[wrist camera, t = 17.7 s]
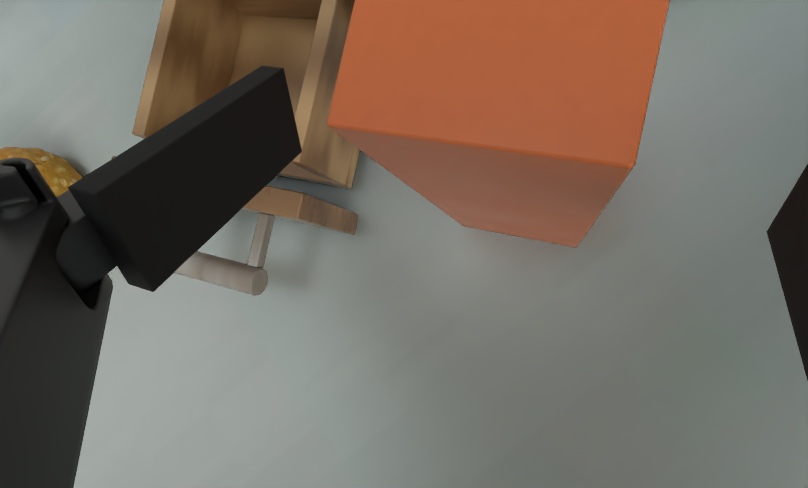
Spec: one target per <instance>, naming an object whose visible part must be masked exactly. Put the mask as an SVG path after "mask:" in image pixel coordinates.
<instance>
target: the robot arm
mask: <svg viewBox="0 0 808 488" xmlns="http://www.w3.org/2000/svg"><path fill="white" fill-rule="evenodd" d="M301 152H302V149H301V145H300V140H299V135H298V131H297V126H296V122H295V117H294V113H293V108H292V104H291V99H290V94H289V90H288V85H287V81H286V76H285V72H284V68H279V67H270V66H260V67H259V68H257V69H256V70H254V71H252V72H251V73H249V74H248V75H246V76H244V77H243V78H241V79H240V80H238V81H236V82H235V83H233V84H232V85H230V86H228V87H227V88H225V89H224V90H222V91H220V92H219V93H217V94H216V95H214V96H213V97H211V98H209V99H208V100H206V101H205V102H203V103H201V104H200V105H198V106H197V107H195V108H193V109H192V110H190V111H189V112H187V113H185V114H184V115H182V116H181V117H179V118H177V119H176V120H174V121H173V122H171V123H169V124H168V125H166V126H165V127H163V128H161V129H160V130H158V131H157V132H155V133H153V134H152V135H150V136H149V137H147V138H145V139H144V140H142V141H141V142H139V143H138V144H136V145H134V146H133V147H131V148H130V149H128V150H126V151H125V152H123V153H122V154H120V155H118V156H117V157H115V158H114V159H112V160H110V161H109V162H107V163H106V164H104V165H102V166H101V167H99V168H98V169H96V170H94V171H93V172H91V173H90V174H88V175H86V176H85V177H83V178H82V179H80V180H78V181H77V182H75V183H74V184H72V185H70V186H69V187H68V189H69V190H67V191H66V192H64V193H63V194H61V195H60V196H58V197H56V196H55V194H54V193H53V191H52V190H51V188H50V187H49V185H48V184H47V182H46V181H45V179H44V178H43V176H42V175H41V173H40V171H39V170H38V168H37V167H36V165H35V164H34V162H32V161H31V160H30V159H28V158H20V157H17V158H8V159H3V160H0V488H73V486H74V481H75V476H76V471H77V466H78V461H79V456H80V451H81V446H82V441H83V436H84V430H85V425H86V420H87V415H88V410H89V405H90V400H91V395H92V390H93V385H94V380H95V375H96V370H97V365H98V360H99V355H100V350H101V345H102V339H103V334H104V329H105V324H106V319H107V314H108V309H109V304H110V299H111V294H112V289H113V285H112V280H111V279H110V277H109V276H108V274H107V273H109V272H110V271H111V270H112V269H113V268H115V267H116V266H118V268H119V269H120V271H121V273H122V274H123V276H124V277H125V279H126V281H127V282H128V284H130V285H133V286H136V287H140V288H143V289H146V290H149V291H152V292H154V291H155V290H156V289H157V288H158V287H159V286H160V285H161V284H162V283H163V282H164V281H165V280H166V279H167V278H169V277H170V276H171V275H172V274H173V273H174V272H175V271H176V270H177V269H178V268H179V267H180V266H181V265H182V264H183V263H184V262H186V261H187V260H188V259H189V258H190V257H191V256H192V255H193V254H194V253H195V252H196V251H197V250H198V249H199V248H200V247H201V246H202V245H204V244H205V243H206V242H207V241H208V240H209V239H210V238H211V237H212V236H213V235H214V234H215V233H216V232H217V231H218V230H219V229H221V228H222V227H223V226H224V225H225V224H226V223H227V222H228V221H229V220H230V219H231V218H232V217H233V216H234V215H235V214H236V213H237V212H239V211H240V210H241V209H242V208H243V207H244V206H245V205H246V204H247V203H248V202H249V201H250V200H251V199H252V198H253V197H254V196H256V195H257V194H258V193H259V192H260V191H261V190H262V189H263V188H264V187H265V186H266V185H267V184H268V183H269V182H270V181H271V180H272V179H274V178H275V177H276V176H277V175H278V174H279V173H280V172H281V171H282V170H283V169H284V168H285V167H286V166H287V165H288V164H289V163H291V162H292V161H293V160H294V159H295V158H296V157H297V156H298V155H299V154H300V153H301ZM767 234H768V238H769V241H770V245H771V249H772V252H773V256H774V260H775V263H776V267H777V271H778V274H779V278H780V282H781V285H782V289H783V292H784V296H785V300H786V303H787V307H788V311H789V314H790V318H791V322H792V325H793V329H794V333H795V336H796V340H797V344H798V347H799V351H800V354H801V358H802V362H803V365H804V369H805V373H806V376H807V380H808V164H807V166H806V168H805V169H804V171H803V173H802V174H801V176H800V178H799V179H798V181H797V183H796V184H795V186H794V188H793V189H792V191H791V193H790V194H789V196H788V198H787V199H786V201H785V202H784V204H783V206H782V207H781V209H780V211H779V212H778V214H777V216H776V217H775V219H774V221H773V222H772V224H771V226H770V227H769V229H768V231H767Z"/></svg>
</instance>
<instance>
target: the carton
mask: <svg viewBox="0 0 808 488" xmlns="http://www.w3.org/2000/svg"><path fill="white" fill-rule="evenodd" d="M669 2H670V0H355V1H354V5H353V10H352V14H351V18H350V23H349V27H348V32H347V36H346V40H345V45H344V49H343V54H342V58H341V62H340V67H339V71H338V75H337V80H336V84H335V89H334V93H333V97H332V102H331V106H330V111H329V115H328V119H327V126H328V127H330V128H331V129H332V130H334V131H335V132H336V133H338V134H339V135H341V136H342V137H343V138H345V139H346V140H347V141H349V142H350V143H351V144H353V145H354V146H355V147H357V148H358V149H360V150H361V151H362V152H364V153H365V154H366V155H368V156H369V157H370V158H372V159H373V160H375V161H376V162H377V163H379V164H380V165H381V166H383V167H384V168H385V169H387V170H388V171H390V172H391V173H392V174H394V175H395V176H396V177H398V178H399V179H400V180H402V181H403V182H404V183H406V184H407V185H409V186H410V187H411V188H413V189H414V190H415V191H417V192H418V193H419V194H421V195H422V196H424V197H425V198H426V199H428V200H429V201H430V202H432V203H433V204H434V205H436V206H437V207H439V208H440V209H441V210H443V211H444V212H445V213H447V214H448V215H449V216H451V217H452V218H453V219H455V220H456V221H458V222H459V223H460V224H462V225H463V226H467V227H472V228H477V229H482V230H488V231H493V232H498V233H503V234H508V235H514V236H519V237H524V238H529V239H534V240H539V241H545V242H550V243H555V244H560V245H565V246H571V247H577V246H578V244H579V243H580V242H581V240H582V239H583V237H584V236H585V235H586V233H587V232H588V230H589V229H590V228H591V226H592V225H593V223H594V222H595V220H596V219H597V218H598V216H599V215H600V213H601V212H602V211H603V209H604V208H605V206H606V205H607V204H608V202H609V201H610V199H611V198H612V197H613V195H614V194H615V192H616V191H617V190H618V188H619V187H620V185H621V184H622V182H623V181H624V180H625V178H626V177H627V175H628V174H629V173H630V171H631V170H632V168H633V167H634V166H635V163H636V158H637V154H638V149H639V144H640V139H641V135H642V130H643V125H644V120H645V116H646V111H647V106H648V101H649V97H650V92H651V87H652V82H653V78H654V73H655V68H656V63H657V59H658V54H659V49H660V44H661V40H662V35H663V30H664V25H665V21H666V16H667V11H668V6H669Z"/></svg>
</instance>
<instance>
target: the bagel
mask: <svg viewBox="0 0 808 488" xmlns="http://www.w3.org/2000/svg"><path fill="white" fill-rule="evenodd" d="M17 157H20V158H28V159H30V160H31V161H32V162H34V164H35V165H36V167H37V168H38V170H39V171H40V173H41V175H42V176H43V178H44V179H45V181H46V182H47V184H48V185H49V187H50V188H51V190H52V191H53V193H54V194H55V196H56V197H58V196H60V195H61V194H63V193H64V192H66V191H67V190H69V189H68V187H69V186H70V185H72V184H74V183H75V182H77V181H78V180H80V179H82V176H81V175H80V174H79V173H78V172H77V171H76V170H75V169H74V168H73V167H72V166H71V165H70V164H69V163H68V162H67V161H66V160H65V159H63V158H60V157H59V156H56V155H54V154H51V153H48V152H45V151H43V150H42V149H39V148H18V147H5V148H2V149H0V160H3V159H8V158H17Z"/></svg>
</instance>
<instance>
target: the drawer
mask: <svg viewBox="0 0 808 488" xmlns="http://www.w3.org/2000/svg"><path fill="white" fill-rule="evenodd" d="M354 1H355V0H164V2H163V6H162V11H161V15H160V19H159V23H158V27H157V32H156V36H155V40H154V44H153V48H152V52H151V57H150V61H149V65H148V69H147V73H146V78H145V82H144V86H143V90H142V94H141V98H140V103H139V107H138V111H137V115H136V119H135V124H134V128H133V132H132V134H134V135H136V136H139V137H141V138H144V139H145V138H147V137H149V136H150V135H152V134H153V133H155V132H157V131H158V130H160V129H161V128H163V127H165V126H166V125H168V124H169V123H171V122H173V121H174V120H176V119H177V118H179V117H181V116H182V115H184V114H185V113H187V112H189V111H190V110H192V109H193V108H195V107H197V106H198V105H200V104H201V103H203V102H205V101H206V100H208V99H209V98H211V97H213V96H214V95H216V94H217V93H219V92H220V91H222V90H224V89H225V88H227V87H228V86H230V85H232V84H233V83H235V82H236V81H238V80H240V79H241V78H243V77H244V76H246V75H248V74H249V73H251V72H252V71H254V70H256V69H257V68H259V67H260V66H270V67H279V68H284V72H285V76H286V81H287V85H288V90H289V94H290V99H291V104H292V108H293V113H294V117H295V122H296V126H297V131H298V135H299V140H300V145H301V149H302V152H301V153H300V154H299V155H298V156H297V157H296V158H295V159H294V160H293V161H292V162H291V163H289V164H288V165H287V166H286V167H285V168H284V169H283V170H282V171H281V172H280V173H279V174H278V175H279V176H285V177H290V178H295V179H301V180H306V181H312V182H317V183H323V184H328V185H333V186H339V187H344V188H351V187H352V183H353V178H354V174H355V170H356V165H357V161H358V156H359V152H360V149H358V148H357V147H355V146H354V145H353V144H351V143H350V142H349V141H347V140H346V139H345V138H343V137H342V136H341V135H339V134H338V133H336V132H335V131H334V130H332V129H331V128H330V127H328V126H327V119H328V115H329V111H330V106H331V102H332V97H333V93H334V89H335V84H336V80H337V75H338V71H339V67H340V62H341V58H342V54H343V49H344V45H345V40H346V36H347V32H348V27H349V23H350V18H351V14H352V10H353V5H354ZM114 158H115V156H114V157H112V159H114ZM241 210H242V211H247V212H251V213H256V214H259V215H258V220H257V224H256V228H255V233H254V237H253V241H252V246H251V250H250V254H249V259H248V263H247V264H244V263H240V262H236V261H232V260H228V259H224V258H221V257H217V256H213V255H209V254H205V253H201V252H198V251H196V252H195V253H194V254H193V255H192V256H191V257H190V258H189V259H188V260H187V261H186V262H184V263H183V264H182V265H181V266H180V267H179V268H178V269H177V270H176V271H175V272H174V273H177V274H180V275H184V276H187V277H191V278H194V279H198V280H201V281H205V282H208V283H212V284H216V285H219V286H223V287H226V288H230V289H233V290H237V291H240V292H244V293H247V294H251V295H254V296H256V295H260V294H261V293H262V292H263V291H264V290H265V288H266V286H267V282H268V274H267V271H266V270H265V269H263V266H264V262H265V257H266V253H267V249H268V244H269V240H270V236H271V231H272V227H273V223H274V218H279V219H284V220H288V221H293V222H297V223H302V224H306V225H311V226H316V227H320V228H325V229H329V230H334V231H339V232H343V233H348V234H352V235H353V234H355V230H356V225H357V221H358V217H359V215H358V214H357V213H354V212H351V211H349V210H346V209H344V208H341V207H338V206H336V205H333V204H331V203H328V202H325V201H323V200H320V199H318V198H315V197H312V196H310V195H307V194H305V193H301V192H296V191H290V190H285V189H280V188H275V187H270V186H265V187H264V188H263V189H262V190H261V191H260V192H259V193H258V194H257V195H256V196H254V197H253V198H252V199H251V200H250V201H249V202H248V203H247V204H246V205H245V206H244V207H243V208H242V209H241Z"/></svg>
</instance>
